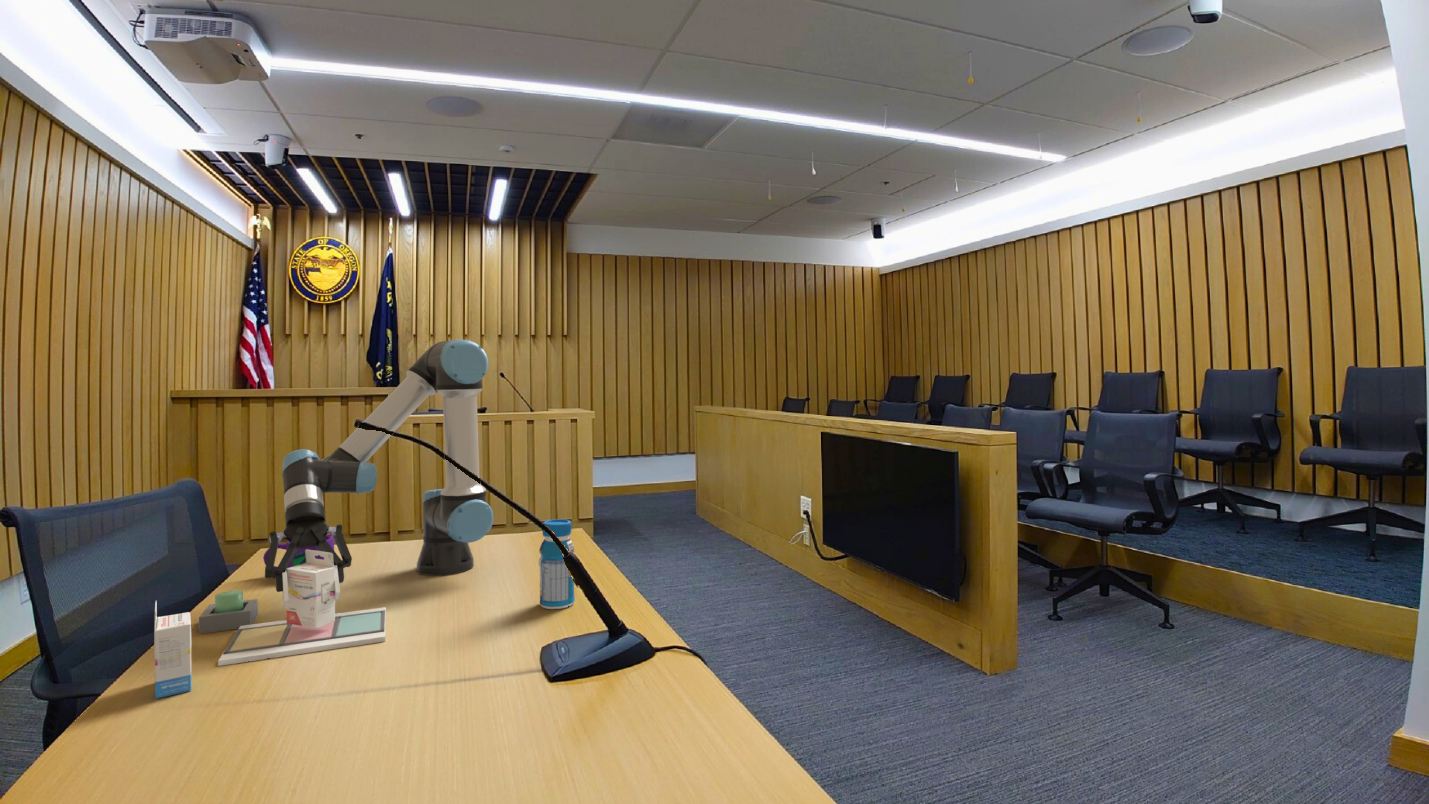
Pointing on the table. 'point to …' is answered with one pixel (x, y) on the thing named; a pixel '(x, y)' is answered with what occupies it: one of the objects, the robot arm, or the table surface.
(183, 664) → the ink box
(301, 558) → the mug
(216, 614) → the button housing
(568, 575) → the beverage bottle
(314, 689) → the table surface
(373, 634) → the colored panel board
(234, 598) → the button
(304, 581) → the ink cartridge box
